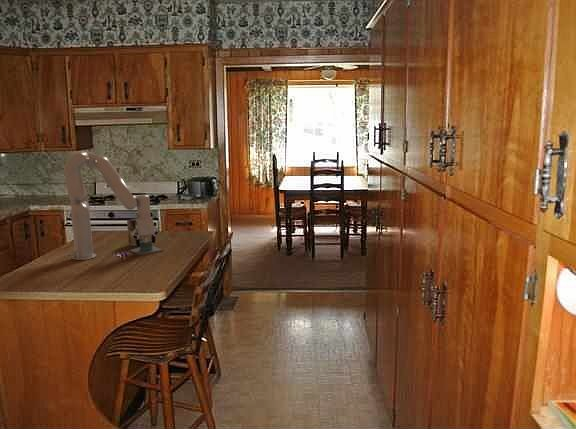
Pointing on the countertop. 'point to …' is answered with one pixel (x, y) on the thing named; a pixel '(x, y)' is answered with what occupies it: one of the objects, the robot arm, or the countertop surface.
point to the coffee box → (131, 227)
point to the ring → (146, 246)
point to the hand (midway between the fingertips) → (145, 244)
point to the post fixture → (139, 252)
